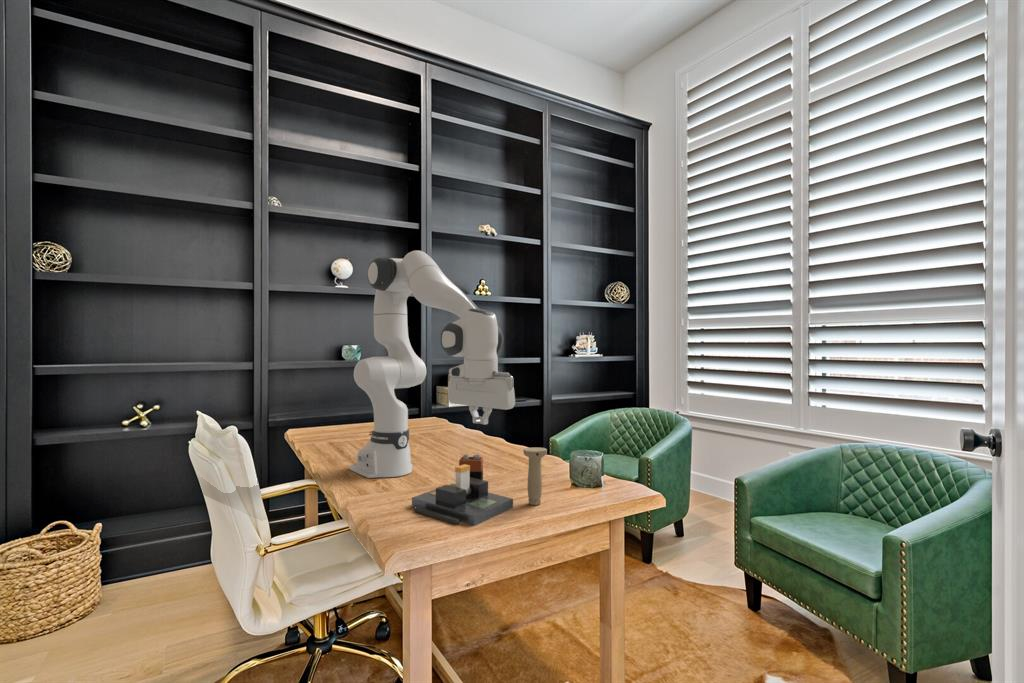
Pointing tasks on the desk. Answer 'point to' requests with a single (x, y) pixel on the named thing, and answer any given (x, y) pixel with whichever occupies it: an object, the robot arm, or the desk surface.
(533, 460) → the handle
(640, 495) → the desk surface
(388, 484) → the desk surface
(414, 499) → the panel
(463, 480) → the lever
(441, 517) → the dark grey flat slab
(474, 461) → the battery
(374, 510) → the desk surface
